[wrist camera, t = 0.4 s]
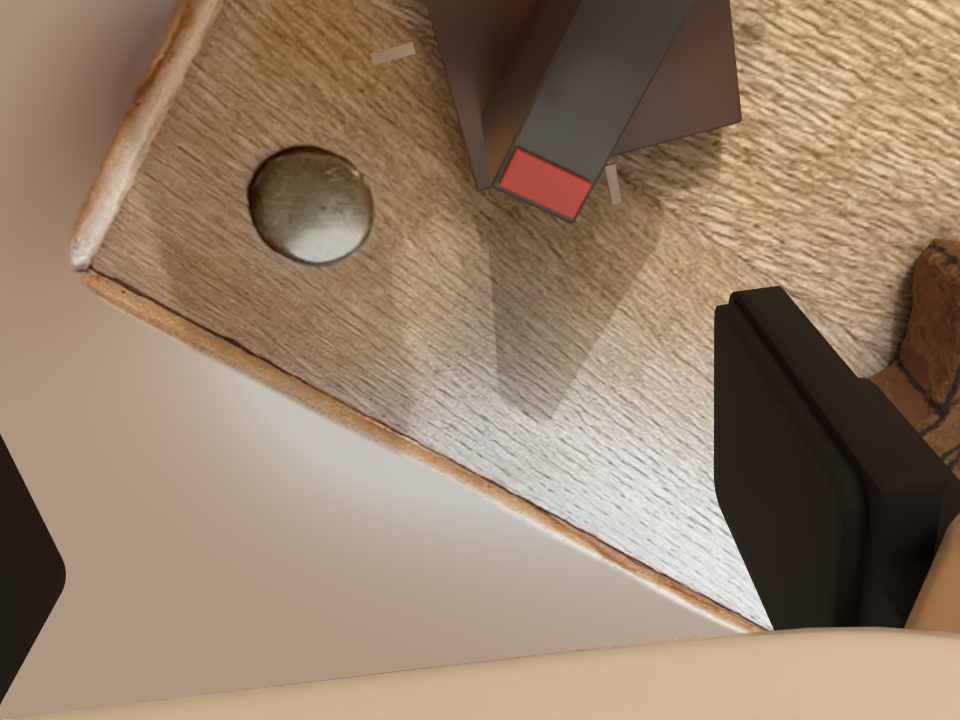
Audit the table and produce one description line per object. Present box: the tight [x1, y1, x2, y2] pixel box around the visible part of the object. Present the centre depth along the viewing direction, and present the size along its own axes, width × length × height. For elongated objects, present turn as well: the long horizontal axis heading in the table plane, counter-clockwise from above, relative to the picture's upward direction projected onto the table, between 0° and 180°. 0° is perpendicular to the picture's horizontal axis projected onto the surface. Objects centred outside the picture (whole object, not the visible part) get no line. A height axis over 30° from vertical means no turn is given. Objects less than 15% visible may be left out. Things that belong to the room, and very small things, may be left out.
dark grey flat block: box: [481, 0, 696, 223], centre depth 22 cm, size 9×2×7 cm, turn 155°
